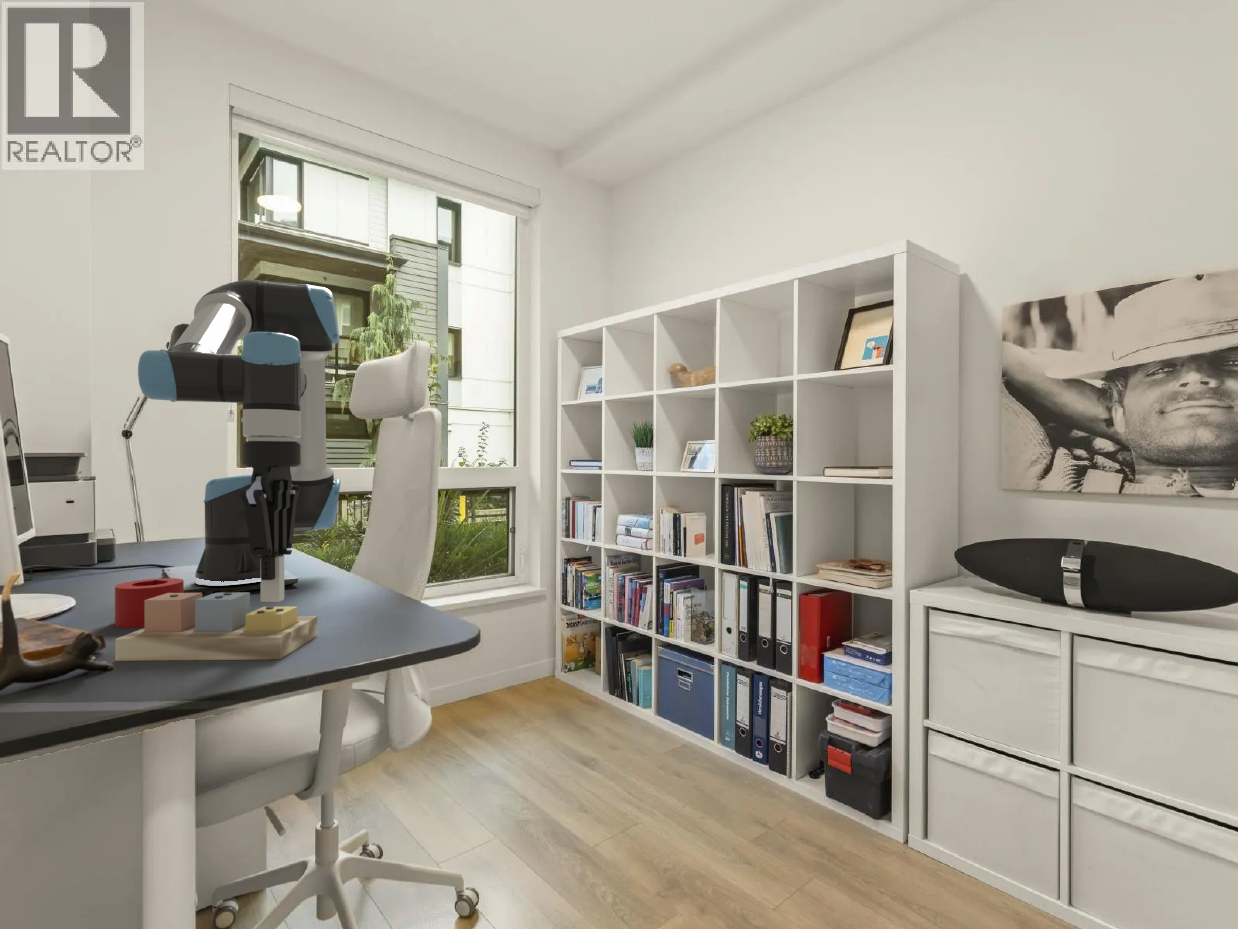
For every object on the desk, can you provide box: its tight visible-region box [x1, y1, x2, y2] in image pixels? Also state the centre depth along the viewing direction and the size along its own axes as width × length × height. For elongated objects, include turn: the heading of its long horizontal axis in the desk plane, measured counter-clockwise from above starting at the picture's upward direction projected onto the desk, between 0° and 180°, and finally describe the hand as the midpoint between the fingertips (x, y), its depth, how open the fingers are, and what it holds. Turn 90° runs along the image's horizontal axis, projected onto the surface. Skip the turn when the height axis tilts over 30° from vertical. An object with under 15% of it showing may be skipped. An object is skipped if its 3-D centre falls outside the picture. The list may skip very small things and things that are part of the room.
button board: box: [114, 615, 319, 662], centre depth 94 cm, size 12×22×3 cm, turn 92°
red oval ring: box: [114, 577, 185, 629], centre depth 114 cm, size 18×9×7 cm, turn 18°
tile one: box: [144, 592, 203, 633], centre depth 94 cm, size 5×5×5 cm
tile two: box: [195, 591, 251, 632], centre depth 94 cm, size 5×5×5 cm
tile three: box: [246, 606, 298, 632], centre depth 94 cm, size 5×5×5 cm
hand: (272, 600), depth 95 cm, fingers closed
